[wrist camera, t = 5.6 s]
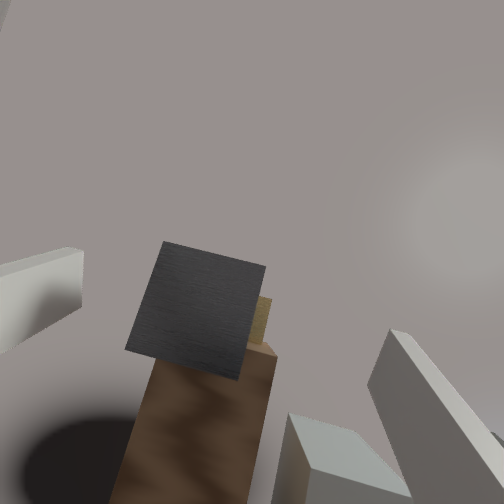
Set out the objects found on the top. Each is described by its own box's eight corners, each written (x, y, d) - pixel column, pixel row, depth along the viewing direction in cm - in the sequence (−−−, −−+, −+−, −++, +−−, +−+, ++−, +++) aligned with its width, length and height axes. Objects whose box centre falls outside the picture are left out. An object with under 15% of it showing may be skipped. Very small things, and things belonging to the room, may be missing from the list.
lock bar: (282, 393, 9) (311, 250, 10) (83, 338, 9) (135, 208, 10) (259, 341, 34) (268, 303, 35) (207, 327, 34) (218, 290, 35)
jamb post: (-34, 939, 13) (166, 327, 21) (121, 604, 28) (203, 325, 36) (137, 1017, 12) (277, 357, 20) (201, 632, 28) (266, 342, 35)
